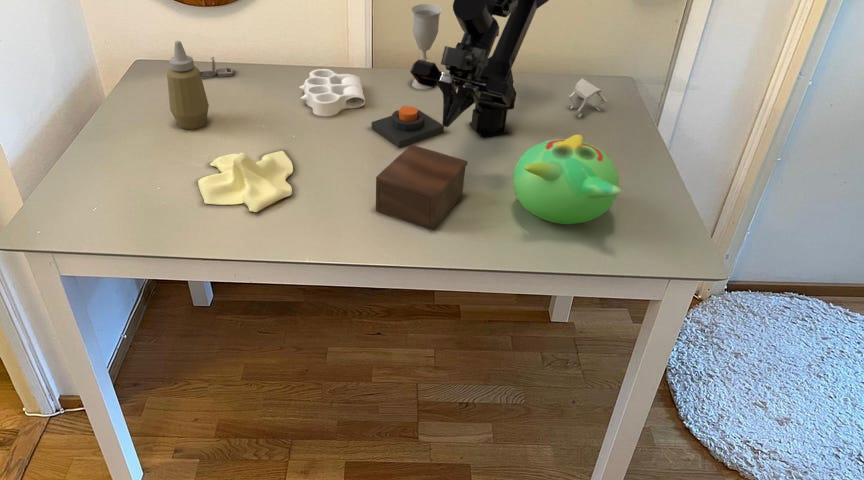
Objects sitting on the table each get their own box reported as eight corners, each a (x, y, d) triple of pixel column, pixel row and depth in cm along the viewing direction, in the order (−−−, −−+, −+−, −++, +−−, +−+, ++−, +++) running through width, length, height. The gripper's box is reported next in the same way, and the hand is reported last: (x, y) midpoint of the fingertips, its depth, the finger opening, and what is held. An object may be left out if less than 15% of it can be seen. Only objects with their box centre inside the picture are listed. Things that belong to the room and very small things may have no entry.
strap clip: (232, 71, 169) (230, 54, 166) (233, 76, 167) (231, 59, 164) (197, 74, 167) (194, 57, 164) (197, 79, 165) (195, 62, 162)
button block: (415, 114, 153) (416, 100, 151) (443, 132, 147) (445, 118, 145) (371, 129, 148) (371, 114, 145) (399, 148, 141) (399, 133, 139)
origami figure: (610, 117, 154) (615, 97, 151) (574, 119, 153) (579, 98, 150) (590, 93, 163) (594, 74, 160) (556, 95, 162) (560, 75, 159)
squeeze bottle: (184, 136, 144) (169, 53, 132) (166, 122, 148) (149, 40, 137) (218, 124, 148) (206, 43, 136) (199, 111, 152) (186, 31, 141)
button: (409, 111, 147) (410, 104, 146) (421, 119, 145) (421, 111, 144) (394, 116, 146) (395, 109, 144) (406, 124, 143) (406, 116, 142)
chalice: (409, 77, 168) (413, 3, 156) (437, 79, 167) (443, 5, 156) (406, 90, 162) (409, 14, 151) (434, 92, 162) (440, 16, 150)
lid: (411, 148, 129) (411, 144, 129) (467, 164, 125) (467, 160, 124) (375, 180, 120) (375, 176, 119) (435, 199, 116) (435, 196, 115)
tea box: (407, 178, 133) (409, 149, 128) (462, 196, 128) (465, 166, 124) (375, 210, 124) (375, 180, 120) (432, 230, 120) (435, 200, 116)
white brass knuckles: (366, 115, 152) (300, 118, 151) (358, 80, 166) (297, 82, 164) (366, 101, 150) (299, 104, 149) (358, 67, 164) (297, 69, 162)
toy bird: (607, 197, 129) (627, 127, 120) (609, 251, 116) (631, 177, 107) (511, 183, 132) (523, 114, 122) (503, 235, 119) (515, 162, 110)
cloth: (281, 217, 122) (278, 188, 118) (181, 206, 124) (175, 177, 120) (310, 154, 139) (309, 127, 135) (223, 145, 141) (219, 118, 137)
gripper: (417, 15, 121) (385, 97, 121) (516, 36, 114) (483, 123, 114) (434, 44, 131) (405, 119, 131) (526, 65, 124) (495, 145, 124)
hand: (445, 126), depth 125 cm, fingers closed
